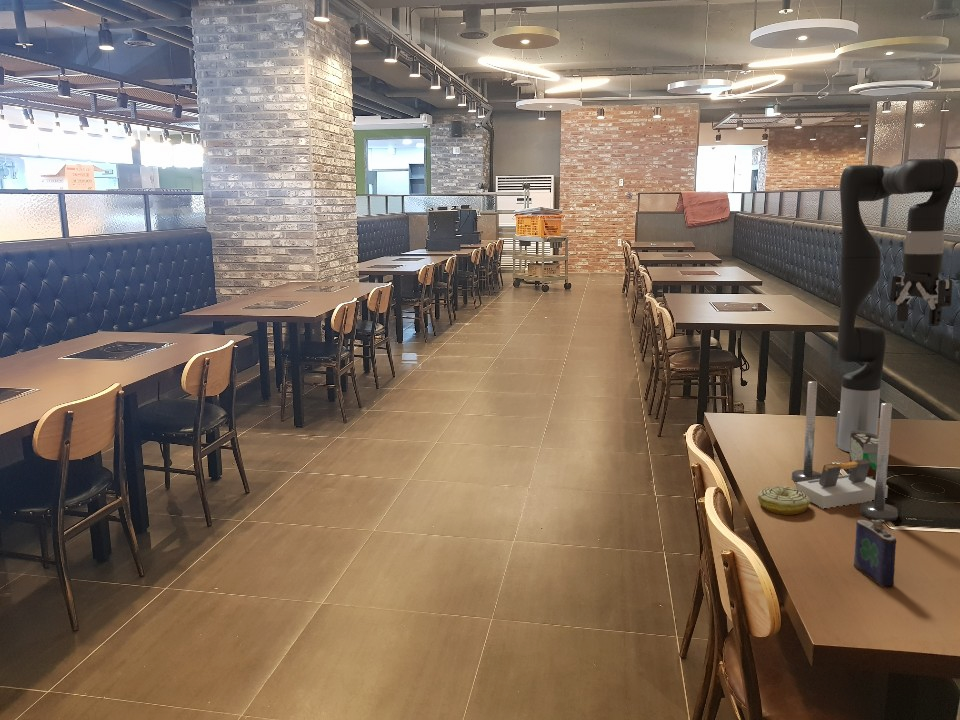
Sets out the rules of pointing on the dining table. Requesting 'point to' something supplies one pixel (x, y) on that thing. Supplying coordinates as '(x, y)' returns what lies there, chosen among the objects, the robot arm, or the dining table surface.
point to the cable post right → (881, 473)
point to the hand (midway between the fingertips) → (917, 323)
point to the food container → (864, 449)
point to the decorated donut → (783, 500)
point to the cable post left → (808, 438)
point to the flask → (875, 552)
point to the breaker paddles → (833, 470)
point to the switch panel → (839, 492)
